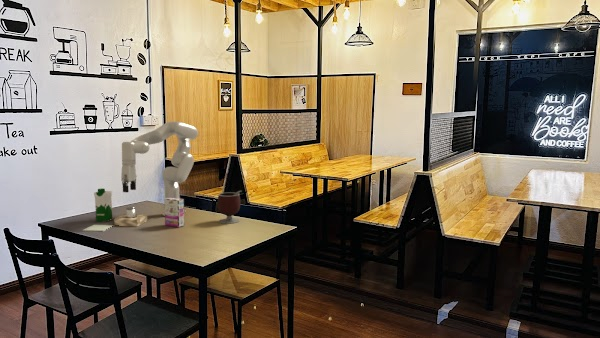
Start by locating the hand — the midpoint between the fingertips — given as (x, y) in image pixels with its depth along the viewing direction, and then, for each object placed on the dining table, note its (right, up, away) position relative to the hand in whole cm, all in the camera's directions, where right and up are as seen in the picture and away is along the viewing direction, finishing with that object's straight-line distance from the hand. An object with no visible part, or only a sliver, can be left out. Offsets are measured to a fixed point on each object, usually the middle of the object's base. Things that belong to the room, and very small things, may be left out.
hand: (129, 190), depth 270 cm
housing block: (0, -20, +3) cm, 20 cm away
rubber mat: (-14, -21, -10) cm, 27 cm away
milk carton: (-19, -19, +10) cm, 29 cm away
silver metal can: (0, -20, +3) cm, 20 cm away
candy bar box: (+28, -21, -2) cm, 35 cm away
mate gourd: (+59, -20, +10) cm, 63 cm away
